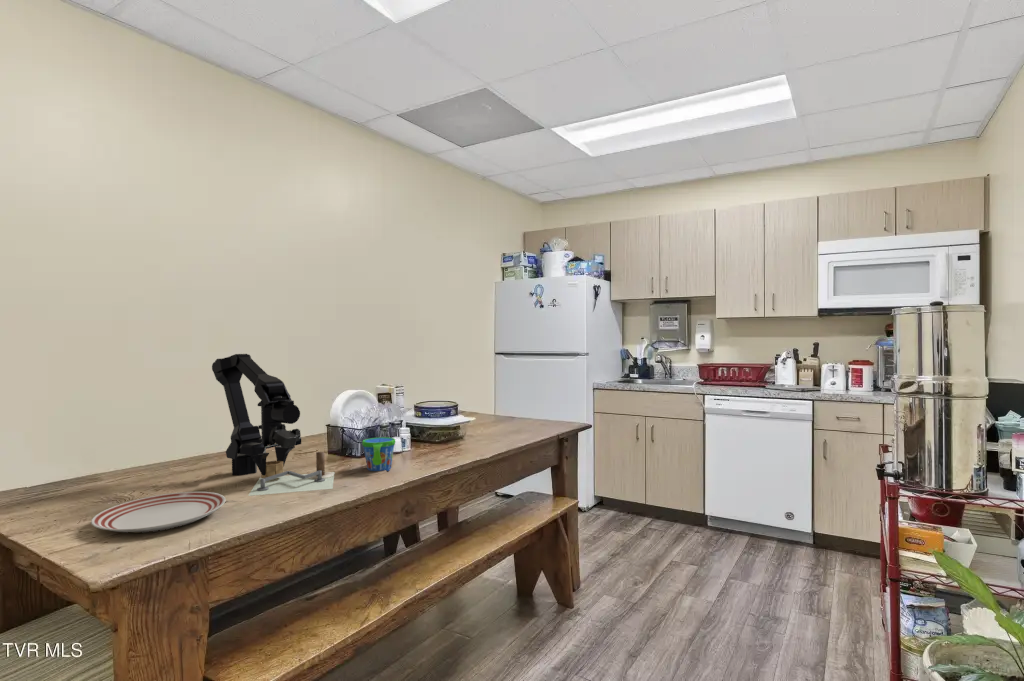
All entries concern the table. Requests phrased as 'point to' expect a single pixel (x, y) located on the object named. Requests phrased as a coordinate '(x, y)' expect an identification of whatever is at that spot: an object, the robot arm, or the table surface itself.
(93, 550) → the table surface
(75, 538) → the table surface
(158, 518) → the dinner plate
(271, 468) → the ring
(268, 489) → the wire course
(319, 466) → the peg stand
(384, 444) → the snack cup
